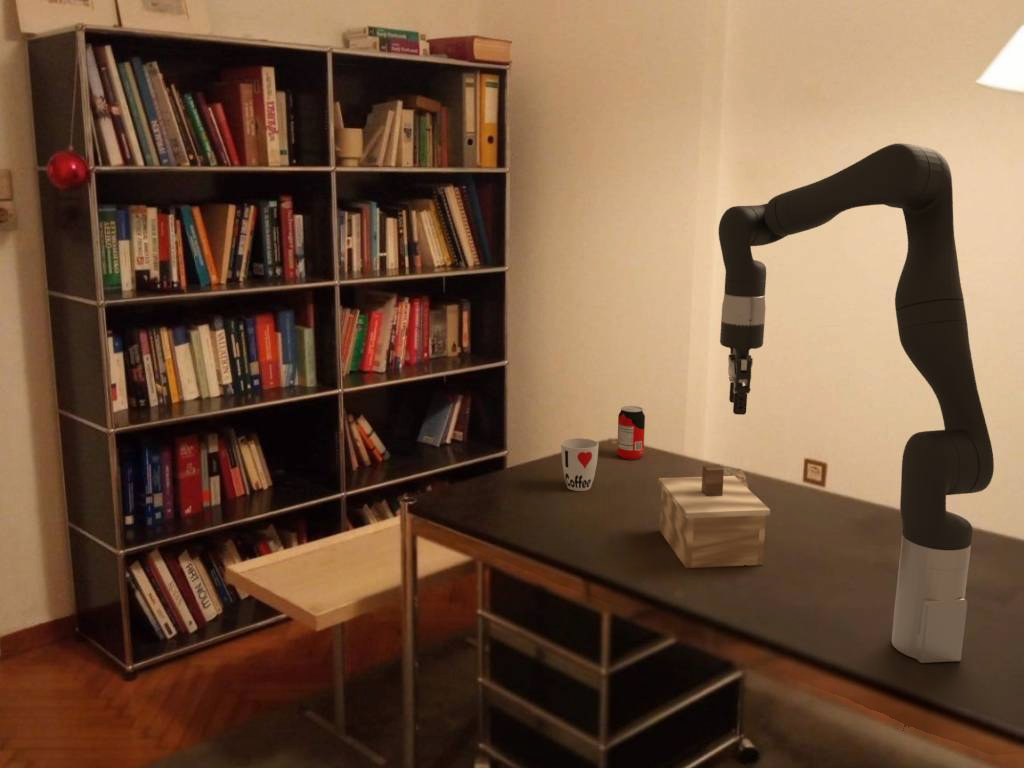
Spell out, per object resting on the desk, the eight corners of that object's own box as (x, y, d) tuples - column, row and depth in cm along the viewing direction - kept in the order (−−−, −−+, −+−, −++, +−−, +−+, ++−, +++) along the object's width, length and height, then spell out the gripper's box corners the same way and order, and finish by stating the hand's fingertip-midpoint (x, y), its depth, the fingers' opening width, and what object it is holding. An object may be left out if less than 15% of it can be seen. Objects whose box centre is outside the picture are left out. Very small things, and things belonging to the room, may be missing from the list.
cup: (556, 491, 215) (557, 446, 213) (565, 479, 223) (566, 436, 220) (593, 495, 213) (594, 450, 211) (601, 483, 220) (602, 439, 218)
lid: (769, 515, 174) (772, 482, 173) (686, 518, 173) (687, 485, 171) (734, 480, 193) (735, 451, 191) (658, 483, 191) (659, 453, 190)
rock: (702, 485, 221) (711, 491, 210) (708, 459, 220) (719, 464, 210) (739, 494, 221) (751, 501, 211) (746, 469, 221) (758, 474, 211)
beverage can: (648, 458, 239) (650, 409, 236) (627, 462, 236) (629, 413, 233) (632, 451, 244) (634, 404, 241) (611, 455, 241) (613, 407, 238)
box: (762, 564, 177) (766, 514, 175) (685, 568, 175) (688, 517, 173) (729, 527, 194) (732, 481, 192) (659, 530, 193) (661, 483, 191)
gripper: (769, 327, 169) (762, 419, 173) (760, 313, 183) (754, 399, 187) (724, 325, 170) (718, 417, 174) (718, 312, 184) (713, 397, 188)
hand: (737, 408), depth 180 cm, fingers open, 8 cm apart
